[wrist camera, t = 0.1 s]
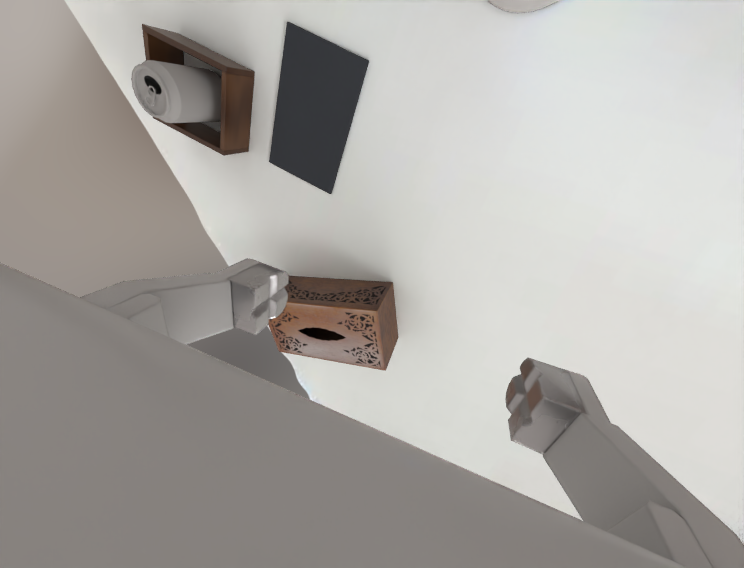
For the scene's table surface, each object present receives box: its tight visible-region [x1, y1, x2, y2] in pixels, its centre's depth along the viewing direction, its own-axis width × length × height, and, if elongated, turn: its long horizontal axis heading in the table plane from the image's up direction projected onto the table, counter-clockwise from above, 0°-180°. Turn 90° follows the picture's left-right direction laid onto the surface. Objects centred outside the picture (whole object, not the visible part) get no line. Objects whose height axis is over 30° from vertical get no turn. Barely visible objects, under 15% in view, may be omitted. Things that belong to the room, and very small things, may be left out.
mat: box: [269, 22, 369, 194], centre depth 44 cm, size 20×13×1 cm, turn 158°
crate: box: [142, 24, 254, 155], centre depth 45 cm, size 13×15×6 cm
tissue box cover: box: [269, 276, 398, 371], centre depth 59 cm, size 26×14×10 cm, turn 98°
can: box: [131, 60, 222, 123], centre depth 43 cm, size 8×8×12 cm
